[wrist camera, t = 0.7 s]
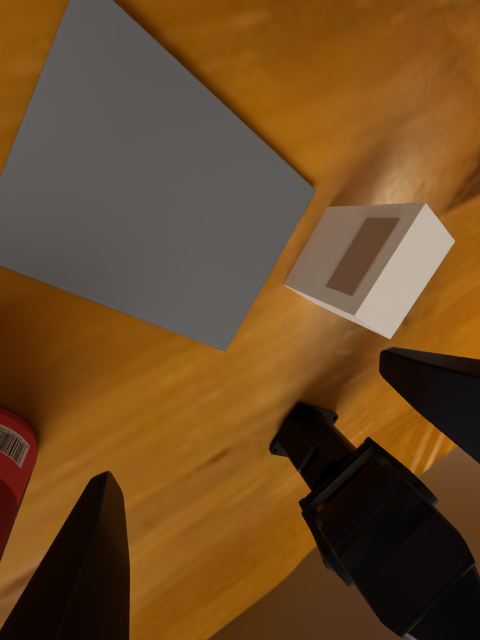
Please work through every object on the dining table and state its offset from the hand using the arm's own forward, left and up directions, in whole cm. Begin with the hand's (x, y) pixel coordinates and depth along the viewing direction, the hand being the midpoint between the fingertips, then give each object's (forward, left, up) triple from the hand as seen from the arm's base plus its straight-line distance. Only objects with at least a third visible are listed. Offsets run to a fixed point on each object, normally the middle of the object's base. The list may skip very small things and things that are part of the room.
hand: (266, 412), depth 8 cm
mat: (+3, -5, -13) cm, 14 cm away
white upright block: (-9, -8, -13) cm, 18 cm away
